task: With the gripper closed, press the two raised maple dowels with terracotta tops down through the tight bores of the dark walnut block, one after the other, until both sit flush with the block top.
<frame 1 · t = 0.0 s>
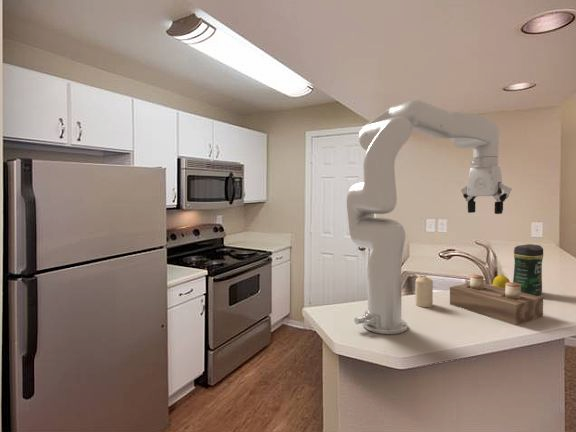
hand: (484, 213, 120), 31 cm above the countertop, tool pointing down, fingers open, 9 cm apart
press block: (493, 310, 114), on the countertop
candle: (423, 305, 120), on the countertop
peg far: (476, 284, 119), point 7 cm above the countertop, slide at 4.0 cm
lemon: (501, 296, 128), on the countertop
peg near: (512, 293, 108), point 7 cm above the countertop, slide at 4.0 cm
coffee jar: (527, 294, 131), on the countertop
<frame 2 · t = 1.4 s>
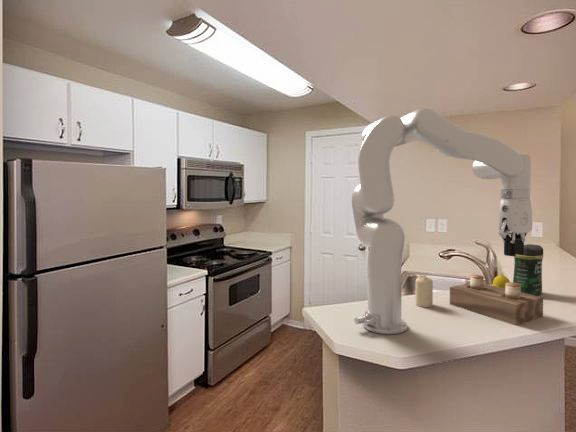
hand: (513, 254, 107), 19 cm above the countertop, tool pointing down, fingers open, 3 cm apart
nothing on the countertop moved.
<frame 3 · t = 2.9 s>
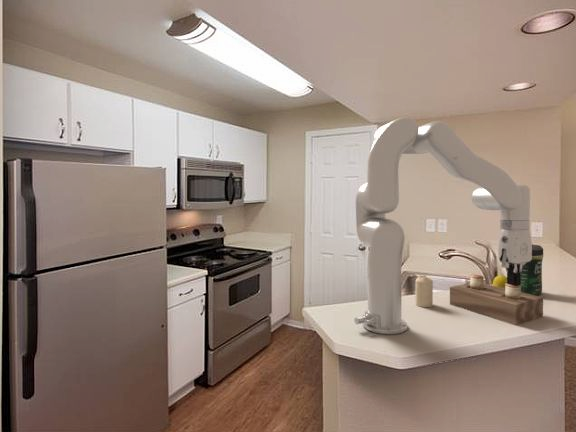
hand: (513, 284, 108), 10 cm above the countertop, tool pointing down, fingers closed
peg near: (512, 293, 108), point 7 cm above the countertop, slide at 3.8 cm, touching gripper
everything else where it was.
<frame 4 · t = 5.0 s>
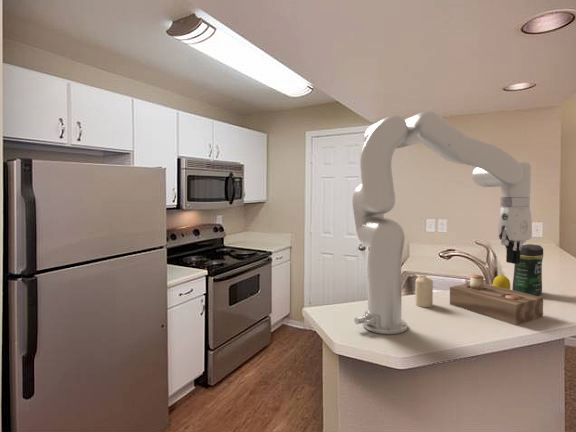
hand: (513, 262, 107), 17 cm above the countertop, tool pointing down, fingers closed
peg near: (512, 305, 108), point 3 cm above the countertop, slide at 0.0 cm
everything else where it was.
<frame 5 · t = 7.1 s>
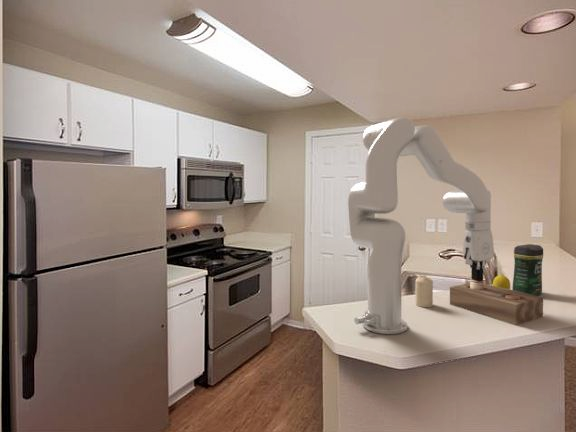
hand: (477, 280, 119), 9 cm above the countertop, tool pointing down, fingers closed
peg far: (476, 288, 119), point 6 cm above the countertop, slide at 2.6 cm, touching gripper
everything else where it was.
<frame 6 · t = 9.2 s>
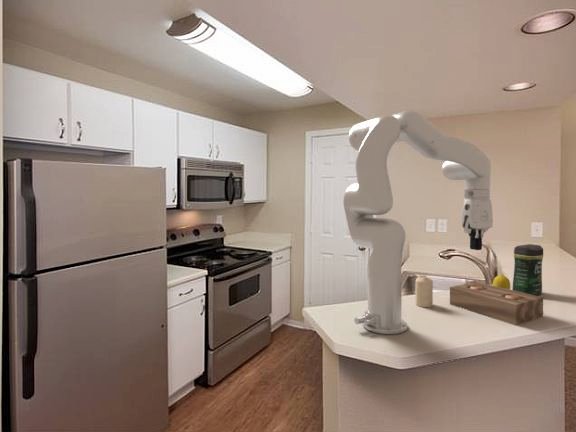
hand: (475, 249, 118), 19 cm above the countertop, tool pointing down, fingers closed
peg far: (476, 295, 119), point 3 cm above the countertop, slide at 0.0 cm
everything else where it was.
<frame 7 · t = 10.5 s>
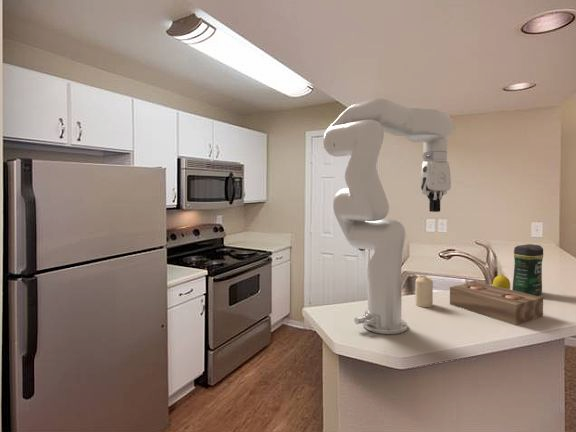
hand: (434, 211, 120), 32 cm above the countertop, tool pointing down, fingers closed
nothing on the countertop moved.
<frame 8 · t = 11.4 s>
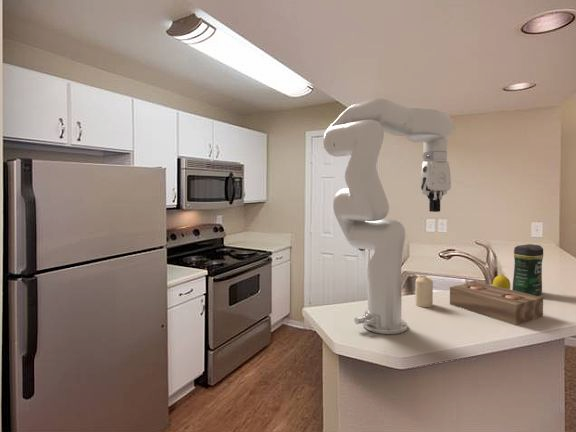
hand: (434, 211, 120), 32 cm above the countertop, tool pointing down, fingers closed
nothing on the countertop moved.
at the end: peg near slide at 0.0 cm; peg far slide at 0.0 cm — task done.
